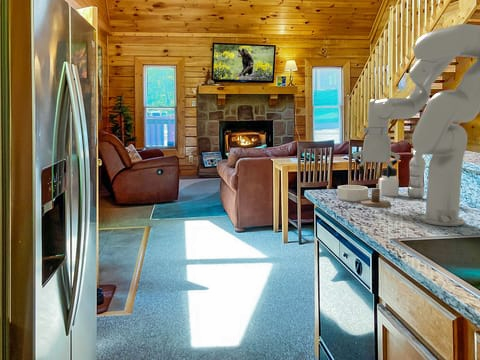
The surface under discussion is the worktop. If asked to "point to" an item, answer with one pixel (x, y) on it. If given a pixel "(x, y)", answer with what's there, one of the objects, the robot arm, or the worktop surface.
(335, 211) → the worktop surface
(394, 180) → the medicine bottle
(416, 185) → the plastic bottle
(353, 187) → the bowl
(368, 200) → the lid
